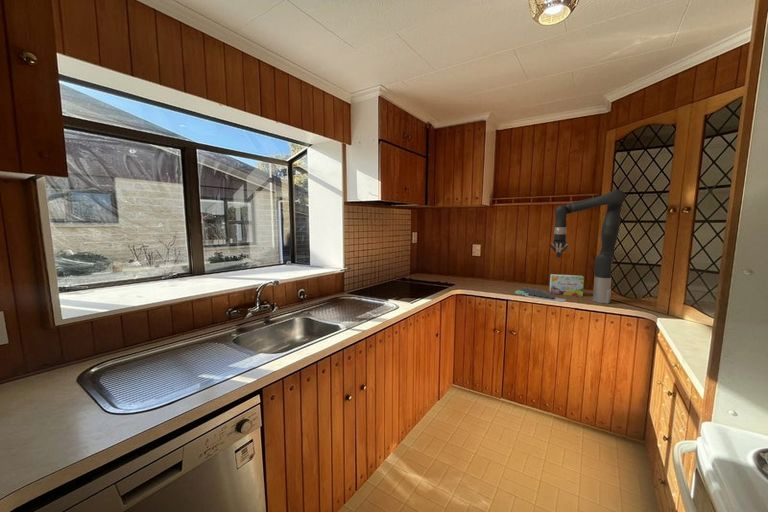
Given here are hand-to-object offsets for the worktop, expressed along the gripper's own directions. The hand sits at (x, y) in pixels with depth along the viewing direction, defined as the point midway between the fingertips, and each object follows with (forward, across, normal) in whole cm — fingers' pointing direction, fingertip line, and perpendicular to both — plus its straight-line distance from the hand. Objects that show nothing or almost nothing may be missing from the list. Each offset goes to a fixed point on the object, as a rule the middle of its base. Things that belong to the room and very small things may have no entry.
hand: (558, 257), depth 219 cm
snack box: (+29, -3, -11) cm, 31 cm away
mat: (+29, +5, +10) cm, 31 cm away
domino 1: (+28, +15, +10) cm, 33 cm away
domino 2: (+28, +11, +10) cm, 32 cm away
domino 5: (+28, -1, +10) cm, 30 cm away
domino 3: (+28, +7, +10) cm, 31 cm away
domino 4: (+28, +3, +10) cm, 30 cm away
